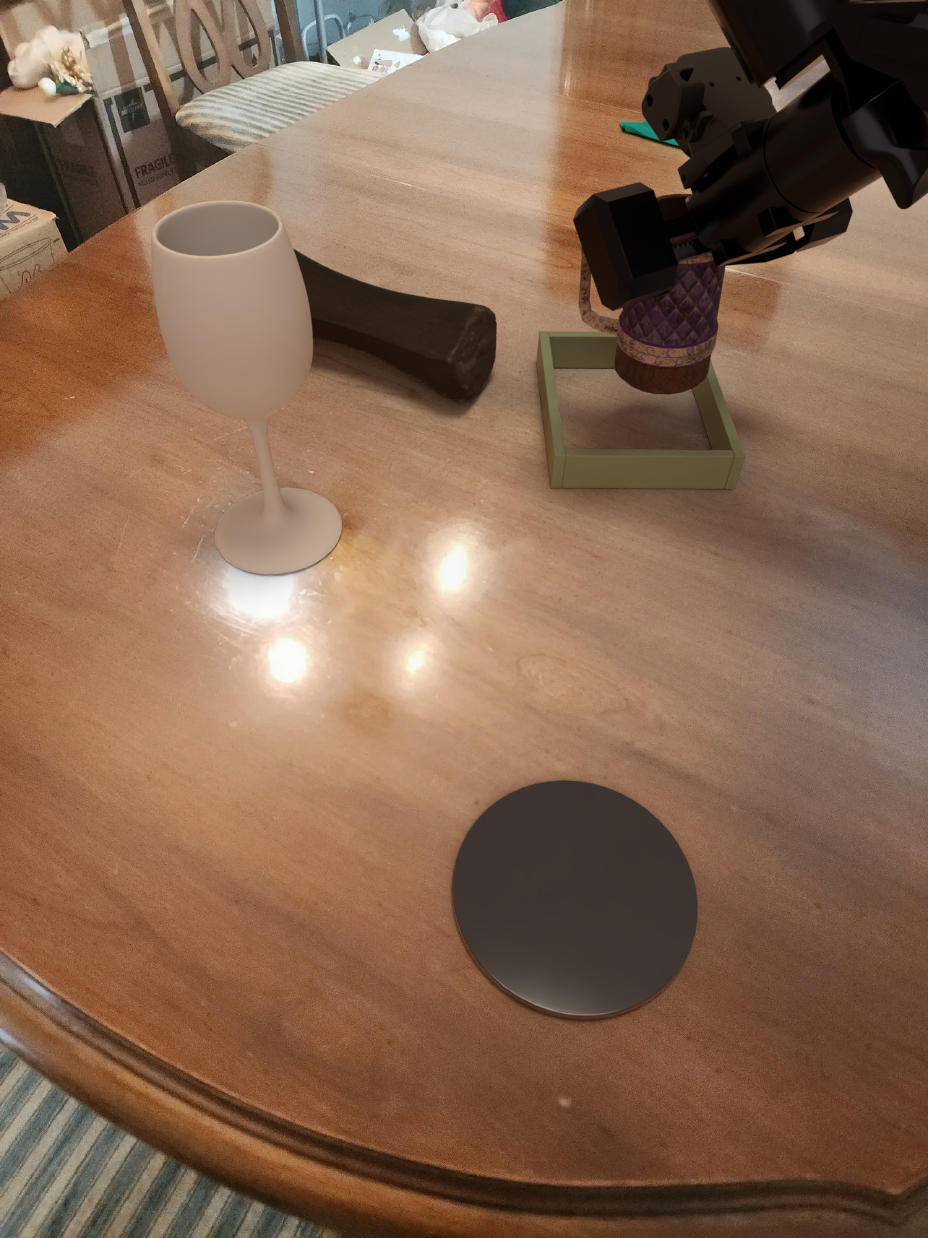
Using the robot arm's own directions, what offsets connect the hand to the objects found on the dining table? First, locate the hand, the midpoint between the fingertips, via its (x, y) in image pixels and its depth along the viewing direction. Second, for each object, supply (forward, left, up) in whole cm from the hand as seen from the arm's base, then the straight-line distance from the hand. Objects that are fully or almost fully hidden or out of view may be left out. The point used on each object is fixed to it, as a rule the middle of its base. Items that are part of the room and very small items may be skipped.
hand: (643, 273), depth 60 cm
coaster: (+7, +40, -12) cm, 42 cm away
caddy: (-1, +1, -12) cm, 12 cm away
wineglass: (+25, +14, -12) cm, 31 cm away
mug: (-1, +1, -7) cm, 7 cm away
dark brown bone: (+23, -9, -12) cm, 28 cm away
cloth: (-21, -59, -12) cm, 63 cm away
